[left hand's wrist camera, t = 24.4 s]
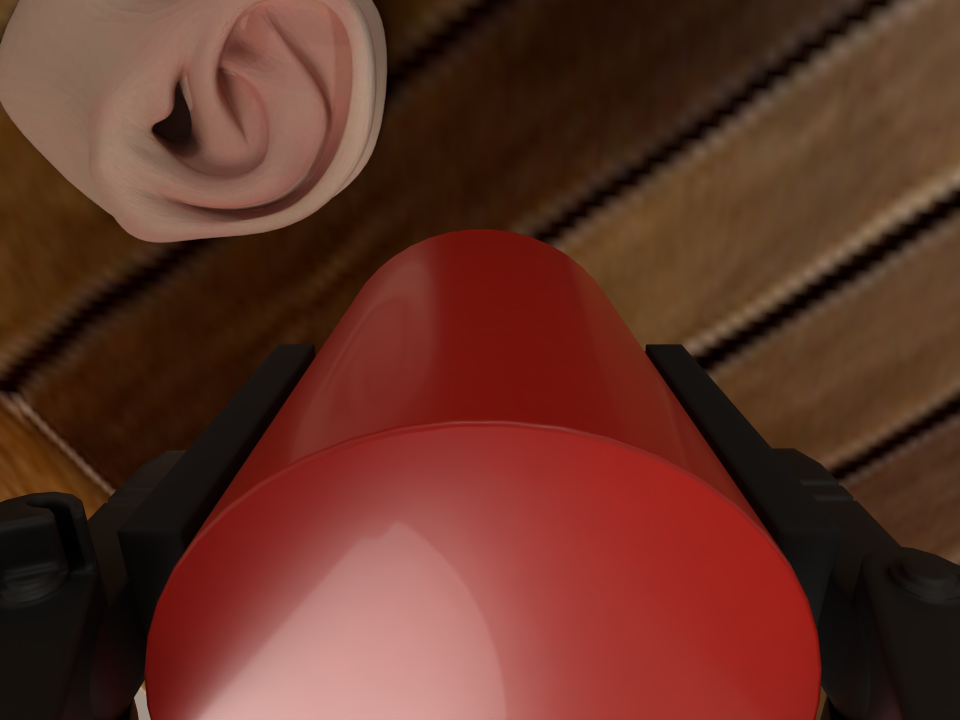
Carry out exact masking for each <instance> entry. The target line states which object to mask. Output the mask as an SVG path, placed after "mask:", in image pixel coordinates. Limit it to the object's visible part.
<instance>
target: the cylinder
mask: <svg viewBox="0 0 960 720" xmlns="http://www.w3.org/2000/svg"><path fill="white" fill-rule="evenodd" d="M821 672H822V666H821V657H820V648H819V639H818V631H817V628H816V624H815V621H814V618H813V614H812V611H811V608H810V604H809V601H808V598H807V596H806V594H805V592H804V590H803V588H802V586H801V584H800V582H799V580H798V578H797V576H796V574H795V572H794V570H793V568H792V566H791V564H790V563H789V561H788V560H787V558H786V557H785V555H784V554H783V552H782V551H781V550H780V548H779V547H778V545H777V544H776V542H775V541H774V539H773V538H772V536H771V535H770V534H769V532H768V531H767V529H766V528H765V526H764V525H763V523H762V522H761V520H760V519H759V518H758V516H757V515H756V513H755V512H754V510H753V509H752V507H751V506H750V504H749V503H748V502H747V500H746V499H745V497H744V496H743V494H742V493H741V491H740V490H739V488H738V487H737V486H736V484H735V483H734V481H733V480H732V478H731V477H730V475H729V474H728V472H727V471H726V470H725V468H724V467H723V465H722V464H721V462H720V461H719V459H718V458H717V456H716V455H715V454H714V452H713V451H712V449H711V448H710V446H709V445H708V443H707V442H706V440H705V439H704V438H703V436H702V435H701V433H700V432H699V430H698V429H697V427H696V426H695V424H694V423H693V422H692V420H691V419H690V417H689V416H688V414H687V413H686V411H685V410H684V408H683V407H682V406H681V404H680V403H679V401H678V400H677V398H676V397H675V395H674V394H673V392H672V391H671V390H670V388H669V387H668V385H667V384H666V382H665V381H664V379H663V378H662V376H661V375H660V374H659V372H658V371H657V369H656V368H655V366H654V365H653V363H652V362H651V360H650V359H649V358H648V356H647V355H646V353H645V352H644V350H643V349H642V347H641V346H640V344H639V343H638V342H637V340H636V339H635V337H634V336H633V334H632V333H631V331H630V330H629V328H628V327H627V326H626V324H625V323H624V321H623V320H622V318H621V317H620V315H619V314H618V312H617V311H616V310H615V308H614V307H613V305H612V304H611V302H610V301H609V299H608V298H607V296H606V295H605V294H604V292H603V291H602V290H601V288H600V287H599V285H598V284H597V283H596V281H595V280H594V279H593V278H592V277H591V276H590V275H589V274H588V273H587V272H586V271H585V270H584V269H583V268H582V267H581V266H580V265H579V264H577V263H576V262H575V261H574V260H572V259H571V258H570V257H568V256H567V255H566V254H564V253H562V252H561V251H559V250H557V249H556V248H554V247H552V246H550V245H549V244H546V243H544V242H541V241H539V240H536V239H534V238H531V237H528V236H525V235H521V234H517V233H513V232H508V231H500V230H492V229H470V230H463V231H456V232H449V233H446V234H442V235H438V236H435V237H431V238H429V239H426V240H424V241H422V242H419V243H417V244H415V245H412V246H410V247H409V248H407V249H405V250H404V251H402V252H400V253H399V254H397V255H395V256H394V257H393V258H392V259H390V260H389V261H388V262H387V263H385V264H384V265H383V266H382V267H380V268H379V269H378V270H377V271H376V272H375V273H374V275H373V276H372V277H371V278H370V279H369V280H368V281H367V282H366V283H365V285H364V286H363V288H362V289H361V290H360V292H359V293H358V295H357V296H356V298H355V299H354V301H353V302H352V303H351V305H350V306H349V308H348V309H347V311H346V312H345V314H344V315H343V317H342V318H341V320H340V321H339V323H338V324H337V326H336V327H335V329H334V330H333V332H332V333H331V335H330V336H329V338H328V339H327V341H326V342H325V344H324V345H323V347H322V348H321V350H320V351H319V353H318V354H317V356H316V357H315V359H314V360H313V362H312V363H311V364H310V366H309V367H308V369H307V370H306V372H305V373H304V375H303V376H302V378H301V379H300V381H299V382H298V384H297V385H296V387H295V388H294V390H293V391H292V393H291V394H290V396H289V397H288V399H287V400H286V402H285V403H284V405H283V406H282V408H281V409H280V411H279V412H278V414H277V415H276V417H275V418H274V420H273V421H272V423H271V424H270V426H269V427H268V428H267V430H266V431H265V433H264V434H263V436H262V437H261V439H260V440H259V442H258V443H257V445H256V446H255V448H254V449H253V451H252V452H251V454H250V455H249V457H248V458H247V460H246V461H245V463H244V464H243V466H242V467H241V469H240V470H239V472H238V473H237V475H236V476H235V478H234V479H233V481H232V482H231V484H230V485H229V487H228V488H227V490H226V491H225V492H224V494H223V495H222V497H221V498H220V500H219V501H218V503H217V504H216V506H215V507H214V509H213V510H212V512H211V513H210V515H209V516H208V518H207V519H206V521H205V522H204V524H203V525H202V527H201V528H200V530H199V531H198V533H197V534H196V536H195V537H194V539H193V540H192V542H191V543H190V545H189V546H188V548H187V549H186V551H185V552H184V554H183V555H182V556H181V558H180V559H179V561H178V562H177V564H176V565H175V567H174V568H173V570H172V573H171V575H170V577H169V579H168V581H167V583H166V585H165V587H164V589H163V591H162V593H161V595H160V597H159V599H158V602H157V605H156V608H155V612H154V616H153V619H152V623H151V626H150V630H149V633H148V639H147V650H146V661H145V672H144V674H145V685H146V697H147V707H148V710H149V714H150V718H151V720H815V718H816V714H817V710H818V706H819V701H820V686H821Z"/></svg>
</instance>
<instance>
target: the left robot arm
mask: <svg viewBox="0 0 960 720" xmlns="http://www.w3.org/2000/svg"><path fill="white" fill-rule="evenodd" d="M645 353H646V355H647V356H648V358H649V359H650V360H651V362H652V363H653V365H654V366H655V368H656V369H657V371H658V372H659V374H660V375H661V376H662V378H663V379H664V381H665V382H666V384H667V385H668V387H669V388H670V390H671V391H672V392H673V394H674V395H675V397H676V398H677V400H678V401H679V403H680V404H681V406H682V407H683V408H684V410H685V411H686V413H687V414H688V416H689V417H690V419H691V420H692V422H693V423H694V424H695V426H696V427H697V429H698V430H699V432H700V433H701V435H702V436H703V438H704V439H705V440H706V442H707V443H708V445H709V446H710V448H711V449H712V451H713V452H714V454H715V455H716V456H717V458H718V459H719V461H720V462H721V464H722V465H723V467H724V468H725V470H726V471H727V472H728V474H729V475H730V477H731V478H732V480H733V481H734V483H735V484H736V486H737V487H738V488H739V490H740V491H741V493H742V494H743V496H744V497H745V499H746V500H747V502H748V503H749V504H750V506H751V507H752V509H753V510H754V512H755V513H756V515H757V516H758V518H759V519H760V520H761V522H762V523H763V525H764V526H765V528H766V529H767V531H768V532H769V534H770V535H771V536H772V538H773V539H774V541H775V542H776V544H777V545H778V547H779V548H780V550H781V551H782V552H783V554H784V555H785V557H786V558H787V560H788V561H789V563H790V564H791V566H792V568H793V570H794V572H795V574H796V576H797V578H798V580H799V582H800V584H801V586H802V588H803V590H804V592H805V594H806V596H807V598H808V601H809V604H810V608H811V611H812V614H813V618H814V621H815V624H816V628H817V631H818V639H819V648H820V657H821V666H822V672H821V686H822V687H823V689H824V691H825V692H826V694H827V696H826V700H825V704H824V708H823V711H822V715H821V719H820V720H960V566H959V565H957V564H954V563H952V562H950V561H948V560H946V559H944V558H942V557H939V556H937V555H935V554H931V553H928V552H924V551H921V550H917V549H914V548H907V547H901V546H900V545H899V544H898V543H897V542H896V541H895V540H894V539H893V538H892V537H891V536H890V535H889V534H888V533H887V532H886V531H885V530H884V529H883V528H882V526H881V525H880V524H879V523H878V522H877V521H876V520H875V519H874V518H873V517H872V516H871V515H870V514H869V513H868V512H867V511H866V510H865V509H864V508H863V507H862V506H861V505H860V504H859V503H858V502H857V501H853V497H852V496H851V495H850V493H849V492H848V491H847V490H846V489H845V488H844V487H843V486H839V485H838V481H837V480H836V479H835V478H834V477H833V476H832V475H831V474H830V473H829V472H828V471H827V470H826V469H825V468H824V467H823V466H822V465H821V464H820V463H818V462H817V461H815V460H813V459H811V458H810V457H808V456H806V455H804V454H803V453H801V452H799V451H797V450H796V449H772V448H771V447H770V446H769V445H768V444H767V443H766V441H765V440H764V439H763V438H762V437H761V436H760V434H759V433H758V432H757V431H756V430H755V429H754V428H753V426H752V425H751V424H750V423H749V422H748V421H747V419H746V418H745V417H744V416H743V415H742V414H741V413H740V411H739V410H738V409H737V408H736V407H735V406H734V404H733V403H732V402H731V401H730V400H729V399H728V398H727V396H726V395H725V394H724V393H723V392H722V391H721V390H720V388H719V387H718V386H717V385H716V384H715V383H714V381H713V380H712V379H711V378H710V377H709V376H708V375H707V373H706V372H705V371H704V370H703V369H702V368H701V366H700V365H699V364H698V363H697V362H696V361H695V360H694V358H693V357H692V356H691V355H690V354H689V353H688V351H687V350H686V349H685V348H684V347H683V346H682V345H646V351H645ZM314 359H315V347H314V345H278V346H277V347H276V348H275V350H274V351H273V352H272V353H271V354H270V355H269V357H268V358H267V359H266V360H265V361H264V362H263V363H262V365H261V366H260V367H259V368H258V369H257V370H256V372H255V373H254V374H253V375H252V376H251V377H250V378H249V380H248V381H247V382H246V383H245V384H244V385H243V387H242V388H241V389H240V390H239V391H238V392H237V393H236V395H235V396H234V397H233V398H232V399H231V400H230V402H229V403H228V404H227V405H226V406H225V407H224V408H223V410H222V411H221V412H220V413H219V414H218V415H217V417H216V418H215V419H214V420H213V421H212V422H211V423H210V425H209V426H208V427H207V428H206V429H205V430H204V432H203V433H202V434H201V435H200V436H199V437H198V438H197V440H196V441H195V442H194V443H193V444H192V445H191V447H190V448H189V449H188V450H187V451H165V452H164V453H162V454H160V455H159V456H157V457H155V458H153V459H152V460H150V461H148V462H146V463H145V464H143V465H141V466H140V467H139V468H138V469H137V470H136V471H135V472H134V473H133V474H132V475H131V476H130V477H129V478H128V479H127V480H126V481H125V482H124V483H123V487H122V488H119V489H118V490H117V491H116V492H115V493H114V494H113V495H112V496H111V497H110V498H109V499H108V503H104V504H103V505H102V506H101V507H100V508H99V509H98V510H97V511H96V512H95V513H94V515H93V516H92V517H91V518H90V519H89V520H88V521H87V518H86V514H85V510H84V507H83V503H82V501H81V500H80V499H78V498H77V497H75V496H74V495H72V494H67V493H60V492H45V493H33V494H28V495H24V496H20V497H16V498H12V499H8V500H5V501H3V502H0V720H139V719H138V712H137V708H136V704H135V700H134V697H135V695H136V693H137V692H138V690H139V688H140V687H141V685H142V683H143V681H144V680H145V674H144V672H145V661H146V650H147V639H148V633H149V630H150V626H151V623H152V619H153V616H154V612H155V608H156V605H157V602H158V599H159V597H160V595H161V593H162V591H163V589H164V587H165V585H166V583H167V581H168V579H169V577H170V575H171V573H172V570H173V568H174V567H175V565H176V564H177V562H178V561H179V559H180V558H181V556H182V555H183V554H184V552H185V551H186V549H187V548H188V546H189V545H190V543H191V542H192V540H193V539H194V537H195V536H196V534H197V533H198V531H199V530H200V528H201V527H202V525H203V524H204V522H205V521H206V519H207V518H208V516H209V515H210V513H211V512H212V510H213V509H214V507H215V506H216V504H217V503H218V501H219V500H220V498H221V497H222V495H223V494H224V492H225V491H226V490H227V488H228V487H229V485H230V484H231V482H232V481H233V479H234V478H235V476H236V475H237V473H238V472H239V470H240V469H241V467H242V466H243V464H244V463H245V461H246V460H247V458H248V457H249V455H250V454H251V452H252V451H253V449H254V448H255V446H256V445H257V443H258V442H259V440H260V439H261V437H262V436H263V434H264V433H265V431H266V430H267V428H268V427H269V426H270V424H271V423H272V421H273V420H274V418H275V417H276V415H277V414H278V412H279V411H280V409H281V408H282V406H283V405H284V403H285V402H286V400H287V399H288V397H289V396H290V394H291V393H292V391H293V390H294V388H295V387H296V385H297V384H298V382H299V381H300V379H301V378H302V376H303V375H304V373H305V372H306V370H307V369H308V367H309V366H310V364H311V363H312V362H313V360H314Z"/></svg>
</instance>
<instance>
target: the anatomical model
mask: <svg viewBox="0 0 960 720" xmlns="http://www.w3.org/2000/svg"><path fill="white" fill-rule="evenodd" d="M386 80H387V50H386V41H385V33H384V28H383V24H382V20H381V17H380V15H379V12H378V10H377V8H376V6H375V5H374V3H373V1H372V0H19V2H18V5H17V7H16V9H15V11H14V13H13V15H12V17H11V19H10V21H9V23H8V25H7V28H6V31H5V33H4V36H3V39H2V42H1V45H0V101H1V103H2V105H3V107H4V109H5V110H6V112H7V113H8V115H9V116H10V118H11V119H12V121H13V122H14V123H15V124H16V126H17V127H18V128H19V129H20V131H21V132H22V133H23V134H24V135H25V137H26V138H27V139H28V140H29V141H30V142H31V143H32V144H33V145H34V146H35V147H36V148H37V149H38V150H39V151H40V152H41V153H42V154H43V155H44V157H45V158H46V159H47V160H48V161H49V162H50V163H51V164H52V165H53V166H54V167H55V168H56V169H57V170H58V171H59V172H60V173H61V174H62V175H63V176H64V177H65V178H66V179H67V180H68V181H69V182H71V183H72V184H73V185H74V186H75V187H76V188H78V189H79V190H80V191H81V192H82V193H84V194H85V195H86V196H87V197H89V198H90V199H91V200H93V201H94V202H95V203H96V204H98V205H99V206H100V207H101V208H103V209H104V210H105V211H107V212H108V213H109V214H111V215H112V216H114V218H115V219H116V220H117V222H118V223H119V224H120V226H121V227H122V228H123V229H124V230H126V231H127V232H128V233H129V234H131V235H133V236H135V237H137V238H139V239H142V240H145V241H150V242H174V241H183V240H192V239H201V238H213V237H226V236H238V235H248V234H255V233H262V232H267V231H271V230H275V229H279V228H282V227H285V226H288V225H291V224H293V223H295V222H298V221H300V220H302V219H304V218H306V217H308V216H310V215H311V214H313V213H314V212H316V211H317V210H318V209H320V208H321V207H322V206H323V205H324V204H326V203H327V202H328V201H329V200H330V199H331V198H332V197H334V196H335V195H337V194H338V193H339V192H341V191H342V190H343V189H344V188H345V187H347V186H348V185H349V184H350V183H351V182H352V181H353V180H354V179H355V178H356V177H357V176H358V174H359V173H360V172H361V170H362V169H363V168H364V166H365V165H366V163H367V162H368V160H369V158H370V156H371V154H372V152H373V149H374V147H375V144H376V141H377V138H378V134H379V131H380V127H381V123H382V116H383V110H384V103H385V96H386Z"/></svg>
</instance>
